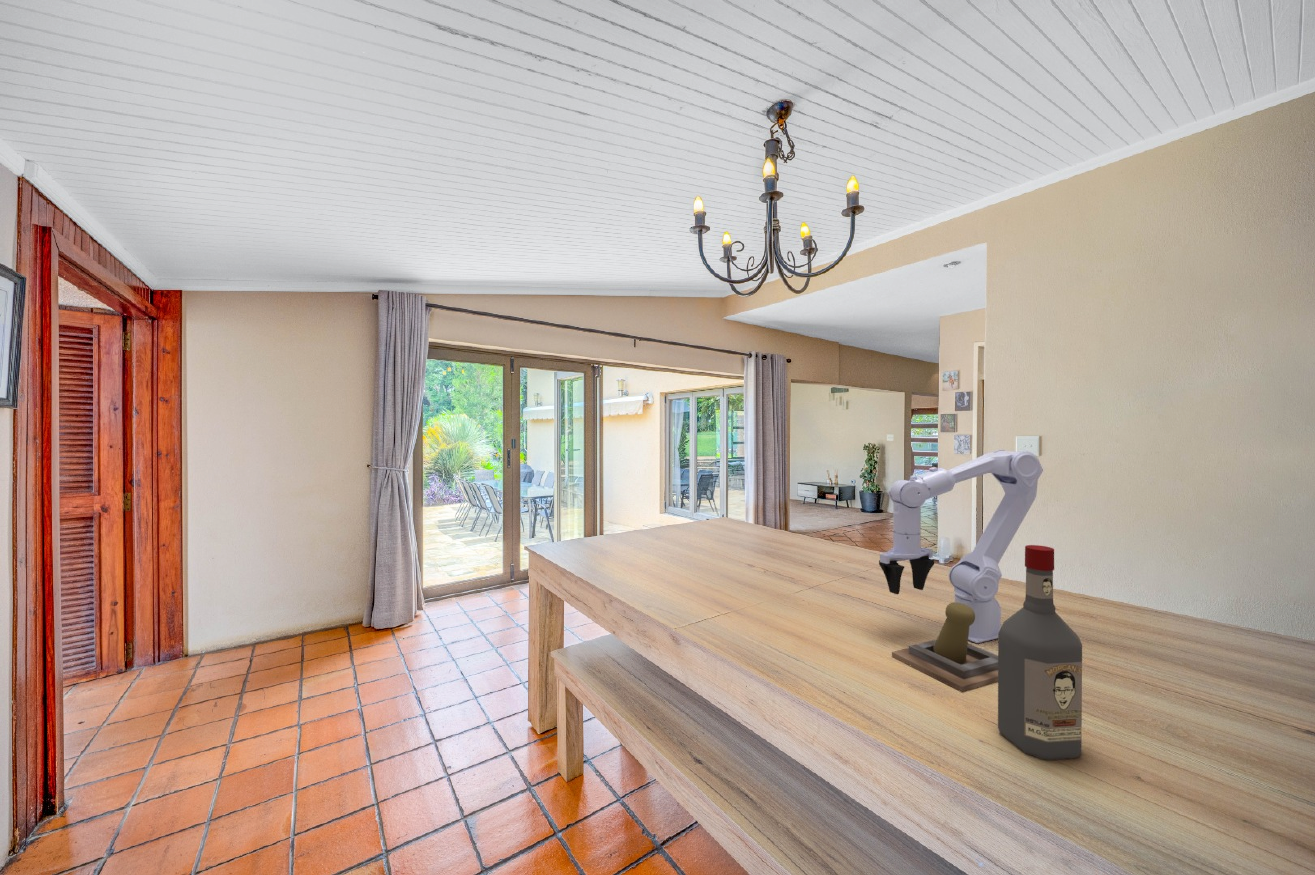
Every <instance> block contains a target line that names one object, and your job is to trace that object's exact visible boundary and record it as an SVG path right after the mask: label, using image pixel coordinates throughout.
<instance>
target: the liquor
mask: <svg viewBox="0 0 1315 875" xmlns="http://www.w3.org/2000/svg"><path fill="white" fill-rule="evenodd" d="M1024 567H1025V599H1024V601H1023V604H1022V605H1023V606H1022V607H1021V608H1020V609H1019V610H1017V611H1016V612H1014V614H1012V615H1011V616H1010V617H1008V618H1007V619H1006V620H1004V621H1003V623H1002V624H1001V629H1000V631H999V633H998V638H997V640H998V642H997V643H998V644H997V647H998V648H997V651H998V652H997V655H998V682H997V728H998V730H999V732H1000V734H1001V736H1003V737H1004V738H1006V740H1008V741H1009V742H1010V743H1011V744H1013V745H1014V746H1016V748H1018V749H1019V750H1020V751H1022V752H1023V753H1024V754H1026V755H1030V756H1033V757H1036V758H1038V759H1041V758H1042V759H1041V760H1045V761H1052V760H1054V759H1056V760H1066V759H1065V758H1070V759H1077V758H1079V757H1080V755H1081V754H1082V744H1083V743H1082V735H1083V733H1082V727H1083V726H1082V724H1083V722H1082V721H1083V717H1082V716H1083V714H1082V713H1083V711H1082V710H1083V706H1082V705H1083V704H1082V703H1083V644H1082V642H1081V639H1080V637H1079V635H1077V633H1076V632H1075V631H1074V630H1073V629H1072V628H1071V627H1070V626H1069V625H1068V624H1067V623H1066V621H1064V620H1063V618H1062V617H1061V616H1060V615H1059V614H1058V613H1057V612H1056V606H1055V604H1054V571H1055V548H1053V547H1050V546H1047V545H1046V546H1045V545H1038V544H1037V545H1036V544H1028V545H1027V544H1026V545H1025V546H1024Z"/></svg>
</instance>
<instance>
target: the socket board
mask: <svg viewBox="0 0 1315 875" xmlns="http://www.w3.org/2000/svg"><path fill="white" fill-rule="evenodd" d="M936 640H937V638H936V639H933V640H928V641H925V642H921V643H915V644H911V645H908V647H906V648H903V649H899V650H895V651H892V652H891V658H894V659H895V660H897V661H900V662H901V661H902V663H903V662H904V664H906V665H907V664H909V665H911V666H912V667H911V666H910V667H911V668H914V669H915V670H917V669H918V671H919V670H920V671H919V672H921V673H923V674H925V673H926V675H927V676H929V677H931V678H933V679H935V680H937V681H939V682H941V683H944V684H945V685H947V686H949V687H951V686H952V687H951V688H953V689H955V690H957V691H959V690H960V691H959V692H961V691H962V692H961V693H964V692H967V691H966V690H968V691H971V690H974V689H978V688H980V686H981V687H985V686H987V685H990V684H994V682H995V683H998V654H995V653H993V652H990V651H988V650H986V649H982V648H980V647H979V646H976V645H973V644H971V643H968V646H967V655H966V661H965V662H964V663H956V662H954V661H951V660H949V659H947V658H945V657H943V656H940V655H938V654H936V653H935V652H934V649H933V647H934V645H935V642H936ZM909 665H908V666H909ZM977 687H978V688H977ZM963 691H964V692H963Z"/></svg>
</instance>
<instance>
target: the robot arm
mask: <svg viewBox="0 0 1315 875" xmlns="http://www.w3.org/2000/svg"><path fill="white" fill-rule="evenodd" d="M1043 472H1044V468H1043V466H1042V464H1041V462H1040V460H1039V458H1038V456H1037V455H1036V454H1034V453H1032V452H1031V451H1030V452H1029V451H1012V450H1008V451H1007V450H1004V449H997V450H995V451H992V452H987V453H985V454H983V455H981V456H978V457H975V458H973V459H971V460H969V461H966V462H964V463H962V464H960V465H957V466H955V467H952V468H951V469H948V470H947V469H945V468H944V467H937V466H936V467H935V466H932V467H930V468H928V471H927V472H924V473H921V474H918V475H914V474H913V475H910V477H909V479H908V480H907V479H899V480H896V481H895V482H893V484H892V485H891V487H890V490H888V492H887V493H888V496H889V499H890V500H891V501H892V503H893V504H892V505H893V509H892V510H893V511H892V513H893V516H892V518H893V520H892V521H893V523H892V524H893V525H892V526H893V528H892V529H893V530H892V535H893V536H892V543H893V544H892V545H893V546H892V547H890V548H889V549H890V550H888V551H885V552H880V553H879V560H878V564H879V567H880V568H881V571H882V572H883V574H884V577H885V579H886V582H887V587H888V590H889V593H892V594H893V595H899V594H900V590H901V579H902V575H903V572H904V569H905V566H904V565H900V564H899V563H898V562H901V561H908V562H909V564H910V566H911V567H910V568H911V574H912V586H913V588H914V589H916V590H919V591H924V587H925V583H926V581H927V578H928V575H929V573H930V571H931V569H932V568H933V566H934V565H935V559H932V558H933V552H934V551H933V550H934V549H933V548H929V547H921V544H922V543H921V540H922V539H921V529H922V528H921V525H922V522H921V520H922V519H921V518H922V517H921V515H922V514H921V513H922V512H921V511H922V508H921V507H922V506H923V505H924V503H925V502H926V501H927V500H930V499H932V498H935V497H937V496H941V495H943V494H946V493H949V492H951V491H953V489H954V487H955V484H957V483H961V482H965V481H967V480H972V479H973V478H976V477H980V476H982V475H987V474H991V475H992V476H993V477H994V478H995V480H996V481H997V482H998V484H1000V485H1001V487H1002V490H1003V492H1004V496H1003V497H1002V499H1001V501H1000V503H999V504H998V506H997V508H996V510H995V512H994V513H993V514H992V516H991V518H990V521H989V522H988V524H987V525H986V527H985V528H984V531H983V532H982V534H981V536H980V538H979V540H978V541H977V543H976V545H975V546H974V548H973V550H972V551H971V552H968V553H967V554H964V555H963V556H962V557H961V558H960V559H959V561H958V562H957V563H955V564H954V565H953V566H952V567H951V568H950V570H949V572H948V580H949V583H950V584H951V585H952V586H953V592H954V602H958V603H962V604H965V605H967V606H969V607H970V608H971V609H972V610H973V611H974V613H975V621H974V623H973V624H972V625H970V626H969V636H968V641H969V642H973V643H975V644H980V643H984V642H989V641H993V640H996V639H997V640H998V633H999V631H1000V629H1001V627H1002V609H1001V608H1002V607H1001V605H1000V603H999V601H998V600H997V598H995V596H996V595H997V594H998V591H999V584H1000V580H1001V578H1002V576H1003V575H1002V571H1001V569H1000V567H999V563H1000V562H1001V559H1003V556H1004V554H1005V553H1006V551H1007V549H1008V548H1009V546H1010V544H1011V542H1012V541H1013V539H1014V537H1015V535H1016V534H1017V532H1018V530H1019V528H1020V526H1021V524H1022V523H1023V522H1024V519H1025V517H1026V515H1027V514H1028V512H1029V510H1030V508H1031V507H1032V505H1033V503H1034V501H1035V500H1036V499H1037V493H1038V484H1039V482H1038V481H1039V479H1040V476H1041V475H1042V473H1043Z"/></svg>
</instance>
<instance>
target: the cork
mask: <svg viewBox="0 0 1315 875" xmlns="http://www.w3.org/2000/svg"><path fill="white" fill-rule="evenodd" d="M944 613H945V616H946V618H945V621H944V623H943V624H942V627H941V629H940V631H939V634H938V636H937V638H936V639H937V640H936V639H935V640H936V642H935V645H934V647H933V649H934V652H935V653H936V654H938V655H940V656H943V657H945V658H947V659H949V660H951V661H954V662H956V663H964V662H965V661H966V655H967V646H968V644H969V640H968V636H969V626H970V625H972V624H973V623H974V621H975V613H974V611H973V610H972V609H971V608H970V607H969V606H967V605H965V604H962V603H958V602H955V601H954V602H953V601H952V602H950V603H949V604H947V606H946V607H945V611H944Z"/></svg>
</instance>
